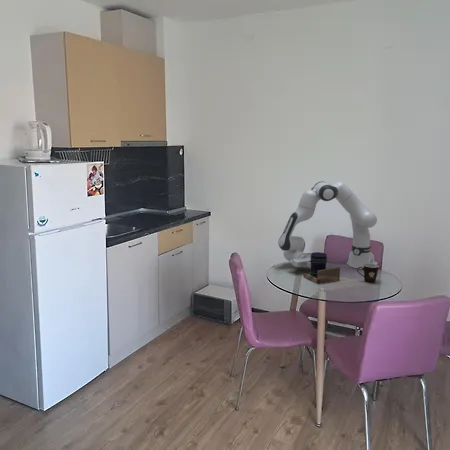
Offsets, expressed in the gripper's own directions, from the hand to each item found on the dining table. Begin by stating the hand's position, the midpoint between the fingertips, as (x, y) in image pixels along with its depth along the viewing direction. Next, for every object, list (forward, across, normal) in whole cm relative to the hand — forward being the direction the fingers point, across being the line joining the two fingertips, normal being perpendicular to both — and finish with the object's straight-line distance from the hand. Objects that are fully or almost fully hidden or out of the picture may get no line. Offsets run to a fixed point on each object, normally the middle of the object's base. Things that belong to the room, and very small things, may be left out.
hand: (314, 264), depth 281 cm
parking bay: (+7, 0, +7) cm, 10 cm away
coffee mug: (+23, +23, +7) cm, 33 cm away
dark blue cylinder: (+4, 0, +7) cm, 9 cm away
